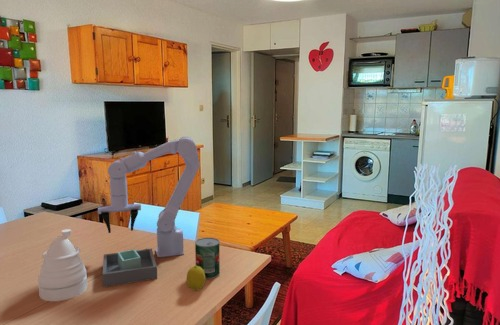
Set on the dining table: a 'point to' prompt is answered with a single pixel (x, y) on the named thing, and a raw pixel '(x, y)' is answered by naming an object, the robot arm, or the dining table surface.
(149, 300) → the dining table surface
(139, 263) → the teal crate
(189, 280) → the lemon
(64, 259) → the honey pot
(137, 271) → the charcoal crate
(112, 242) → the dining table surface
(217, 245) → the canned tomato
